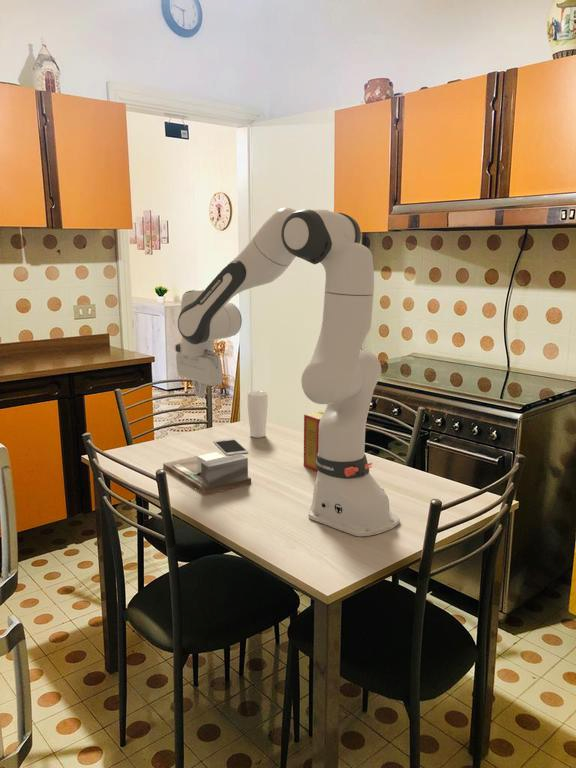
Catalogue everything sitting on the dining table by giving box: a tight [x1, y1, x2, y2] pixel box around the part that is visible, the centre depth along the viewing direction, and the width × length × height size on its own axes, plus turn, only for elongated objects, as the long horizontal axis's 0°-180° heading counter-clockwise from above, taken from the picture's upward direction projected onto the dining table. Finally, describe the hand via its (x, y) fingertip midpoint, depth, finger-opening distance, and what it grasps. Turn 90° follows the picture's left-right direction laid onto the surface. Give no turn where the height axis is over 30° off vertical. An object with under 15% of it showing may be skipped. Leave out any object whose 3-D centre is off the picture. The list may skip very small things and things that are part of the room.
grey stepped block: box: [162, 454, 252, 496], centre depth 176 cm, size 25×14×8 cm, turn 36°
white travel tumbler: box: [247, 390, 269, 439], centre depth 213 cm, size 7×7×15 cm
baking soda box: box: [303, 410, 325, 473], centre depth 184 cm, size 10×6×16 cm
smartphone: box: [212, 438, 249, 457], centre depth 202 cm, size 7×15×1 cm, turn 23°
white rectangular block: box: [194, 451, 226, 476], centre depth 173 cm, size 5×8×5 cm, turn 126°
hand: (200, 396), depth 178 cm, fingers closed
